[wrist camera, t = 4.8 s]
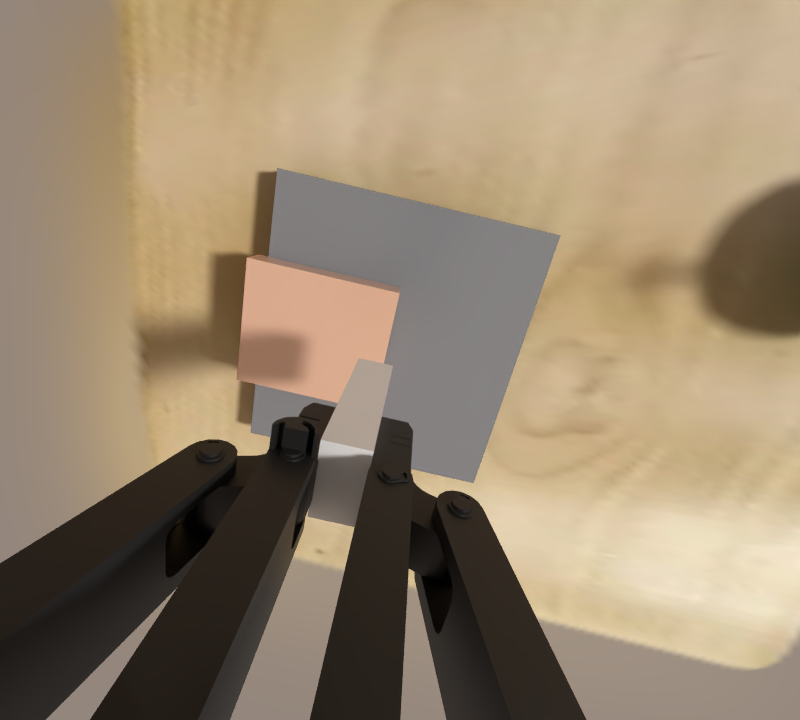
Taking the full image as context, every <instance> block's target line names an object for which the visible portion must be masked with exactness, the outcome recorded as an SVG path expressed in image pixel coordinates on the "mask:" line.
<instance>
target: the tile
mask: <svg viewBox="0 0 800 720" xmlns="http://www.w3.org/2000/svg"><path fill="white" fill-rule="evenodd" d="M400 291H401V288H400V287H396V286H392V285H387V284H383V283H379V282H375V281H370V280H366V279H362V278H358V277H353V276H349V275H345V274H340V273H336V272H332V271H328V270H323V269H319V268H315V267H311V266H306V265H302V264H298V263H294V262H289V261H285V260H281V259H277V258H272V257H268V256H264V255H255V256H251V257H247V262H246V274H245V286H244V299H243V311H242V323H241V335H240V347H239V359H238V372H237V380H239V381H244V382H248V383H253V384H257V385H261V386H266V387H270V388H274V389H279V390H283V391H288V392H292V393H296V394H301V395H305V396H309V397H314V398H318V399H323V400H327V401H331V402H336V403H338V402H339V400H340V397H341V395H342V393H343V391H344V389H345V387H346V385H347V382H348V380H349V378H350V376H351V374H352V372H353V370H354V367H355V365H356V363H357V361H358V359H359V358H361V359H365V360H370V361H374V362H379V363H383V364H384V363H385V358H386V354H387V349H388V345H389V340H390V336H391V331H392V327H393V322H394V318H395V314H396V309H397V305H398V300H399V296H400Z"/></svg>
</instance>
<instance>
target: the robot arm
mask: <svg viewBox="0 0 800 720" xmlns="http://www.w3.org/2000/svg"><path fill="white" fill-rule="evenodd" d="M392 368H393V366H392V365H387V364H383V363H379V362H374V361H370V360H365V359H361V358H359V359H358V361H357V363H356V365H355V367H354V370H353V372H352V374H351V376H350V378H349V380H348V382H347V385H346V387H345V389H344V391H343V393H342V395H341V397H340V400H339V402H338V404H337V406H336V407H332V406H328V405H323V404H319V403H314V402H313V403H311V404H309V405H308V406H306V407H304V408H303V410H302V411H301V413H300V414H299V417H284V418H281V419H278V420H276V421H275V422H274V423H273V424H272V430H271V438H270V447H269V450H268V452H267V453H266V454H263V455H258V456H237V449H236V448H235V446H234V445H232V444H230V443H229V442H226V441H222V440H204V441H199V442H196V443H194V444H192V445H190V446H188V447H187V448H185V449H183V450H182V451H180V452H179V453H177V454H175V455H174V456H172V457H170V458H169V459H167V460H166V461H164V462H162V463H161V464H159V465H158V466H156V467H154V468H153V469H151V470H150V471H148V472H146V473H145V474H143V475H142V476H140V477H138V478H137V479H135V480H133V481H132V482H130V483H129V484H127V485H125V486H124V487H122V488H121V489H119V490H117V491H116V492H114V493H113V494H111V495H109V496H108V497H106V498H105V499H103V500H102V501H100V502H98V503H97V504H95V505H94V506H92V507H90V508H88V509H87V510H85V511H84V512H82V513H81V514H79V515H77V516H76V517H74V518H72V519H71V520H69V521H68V522H66V523H65V524H63V525H61V526H60V527H58V528H56V529H55V530H53V531H51V532H50V533H48V534H47V535H45V536H43V537H42V538H40V539H39V540H37V541H35V542H34V543H32V544H31V545H29V546H28V547H26V548H24V549H23V550H21V551H19V552H18V553H16V554H14V555H13V556H11V557H10V558H8V559H7V560H5V561H3V562H2V563H0V720H46V719H47V718H48V717H49V716H50V715H51V714H52V713H53V712H54V711H55V710H56V709H57V708H58V707H59V706H60V705H61V703H63V702H64V700H66V699H67V698H68V697H69V696H70V695H71V694H72V692H74V691H75V689H77V688H78V687H79V685H80V684H82V682H83V681H85V679H86V678H87V677H88V676H89V675H90V674H91V673H92V672H93V671H94V670H95V669H96V668H97V667H98V666H99V665H100V664H101V663H102V662H103V661H104V660H105V659H106V658H107V657H108V656H109V655H110V654H111V653H112V652H113V651H114V650H115V649H116V648H117V647H118V646H119V645H120V644H121V643H122V642H123V641H124V640H125V639H126V638H127V637H128V636H129V635H130V634H131V633H132V632H133V631H134V630H135V629H136V628H137V627H138V626H139V625H140V624H141V623H142V622H143V621H144V620H145V619H146V618H147V617H148V616H149V615H150V614H151V613H152V612H153V611H154V610H155V609H156V608H157V607H158V606H159V605H160V604H161V603H162V602H163V601H164V600H165V599H166V598H167V597H168V596H169V595H170V594H171V593H172V592H173V591H174V590H175V589H176V588H177V587H178V588H177V589H176V591H175V592H174V594H173V595H172V597H171V598H170V600H169V601H168V603H167V604H166V606H165V607H164V609H163V610H162V612H161V613H160V615H159V616H158V618H157V619H156V621H155V622H154V624H153V625H152V627H151V628H150V630H149V631H148V633H147V634H146V636H145V637H144V639H143V640H142V642H141V643H140V645H139V646H138V648H137V649H136V651H135V652H134V654H133V656H132V657H131V659H130V660H129V662H128V663H127V665H126V666H125V668H124V669H123V671H122V672H121V674H120V675H119V677H118V678H117V680H116V682H115V683H114V684H113V686H112V687H111V689H110V690H109V692H108V694H107V695H106V696H105V698H104V700H103V701H102V703H101V704H100V705H99V707H98V708H97V710H96V712H95V713H94V714H93V716H92V718H91V719H90V720H230V718H231V716H232V713H233V710H234V708H235V705H236V702H237V700H238V697H239V695H240V692H241V689H242V687H243V684H244V682H245V679H246V676H247V674H248V671H249V669H250V666H251V664H252V661H253V659H254V656H255V653H256V651H257V648H258V646H259V643H260V640H261V638H262V635H263V633H264V630H265V627H266V625H267V622H268V620H269V617H270V615H271V612H272V609H273V607H274V604H275V602H276V599H277V596H278V593H279V591H280V589H281V586H282V583H283V581H284V578H285V576H286V573H287V570H288V568H289V565H290V563H291V560H292V558H293V555H294V552H295V550H296V547H297V545H298V542H299V539H300V537H301V534H302V532H303V528H304V522H305V516H306V514H307V511H308V509H309V512H308V517H312V518H317V519H321V520H326V521H330V522H335V523H339V524H344V525H348V526H353V527H355V528H354V533H353V537H352V541H351V546H350V550H349V554H348V558H347V563H346V567H345V571H344V576H343V580H342V585H341V589H340V593H339V597H338V601H337V606H336V610H335V614H334V619H333V623H332V627H331V632H330V635H329V640H328V644H327V648H326V653H325V657H324V661H323V666H322V670H321V674H320V679H319V683H318V687H317V691H316V695H315V700H314V704H313V708H312V713H311V717H310V720H400V714H401V695H402V677H403V659H404V642H405V640H404V639H405V624H406V623H405V622H406V605H407V587H408V569H411V570H413V571H415V582H416V587H417V591H418V596H419V600H420V604H421V608H422V613H423V618H424V622H425V626H426V631H427V635H428V640H429V644H430V648H431V653H432V657H433V662H434V666H435V670H436V675H437V679H438V684H439V688H440V693H441V697H442V701H443V706H444V710H445V714H446V719H447V720H586V718H585V716H584V714H583V712H582V710H581V708H580V706H579V704H578V702H577V700H576V698H575V696H574V693H573V691H572V689H571V688H570V685H569V683H568V681H567V679H566V677H565V675H564V673H563V671H562V669H561V667H560V665H559V663H558V661H557V659H556V657H555V655H554V653H553V651H552V649H551V647H550V645H549V642H548V640H547V638H546V637H545V635H544V632H543V630H542V628H541V626H540V624H539V622H538V620H537V618H536V616H535V614H534V612H533V610H532V608H531V606H530V604H529V602H528V600H527V598H526V596H525V594H524V591H523V589H522V587H521V585H520V583H519V581H518V579H517V577H516V575H515V573H514V571H513V569H512V567H511V565H510V563H509V561H508V559H507V557H506V555H505V553H504V551H503V549H502V547H501V545H500V543H499V540H498V538H497V536H496V534H495V532H494V530H493V528H492V526H491V524H490V522H489V520H488V518H487V516H486V514H485V512H484V510H483V508H482V507H481V505H480V504H479V503H478V502H477V501H476V500H475V499H474V498H472V497H471V496H469V495H467V494H465V493H462V492H458V491H445V492H443V493H441V494H439V496H438V498H436V497H434V496H432V495H430V494H428V493H426V492H424V491H422V490H421V489H420V488H419V487H418V486H417V485H416V484H415V483H414V482H413V477H412V474H411V460H412V444H413V430H412V428H411V426H410V425H409V423H408V422H404V421H399V420H395V419H390V418H386V417H382V413H383V409H384V404H385V400H386V395H387V391H388V386H389V382H390V377H391V373H392Z"/></svg>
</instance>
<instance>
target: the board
mask: <svg viewBox="0 0 800 720" xmlns="http://www.w3.org/2000/svg"><path fill="white" fill-rule="evenodd" d="M559 238H560V235H556V234H551V233H547V232H543V231H539V230H535V229H530V228H526V227H522V226H518V225H514V224H510V223H505V222H501V221H497V220H493V219H489V218H484V217H480V216H476V215H472V214H468V213H463V212H459V211H455V210H451V209H447V208H442V207H438V206H434V205H430V204H426V203H422V202H417V201H413V200H409V199H405V198H401V197H396V196H392V195H388V194H384V193H380V192H375V191H371V190H367V189H363V188H359V187H354V186H350V185H346V184H342V183H338V182H333V181H329V180H325V179H321V178H317V177H313V176H308V175H304V174H300V173H296V172H292V171H287V170H283V169H279V168H277V176H276V186H275V196H274V206H273V216H272V226H271V236H270V246H269V256H268V257H272V258H277V259H281V260H285V261H289V262H294V263H298V264H302V265H306V266H311V267H315V268H319V269H323V270H328V271H332V272H336V273H340V274H345V275H349V276H353V277H358V278H362V279H366V280H370V281H375V282H379V283H383V284H387V285H392V286H396V287H400V288H401V291H400V296H399V300H398V305H397V309H396V314H395V318H394V322H393V327H392V331H391V336H390V340H389V345H388V349H387V354H386V358H385V363H384V364H387V365H392V366H393V368H392V373H391V377H390V382H389V386H388V391H387V395H386V400H385V404H384V409H383V413H382V417H386V418H390V419H395V420H399V421H404V422H408V423H409V425H410V426H411V428H412V430H413V444H412V460H411V469H414V470H418V471H423V472H427V473H432V474H436V475H440V476H445V477H449V478H454V479H458V480H463V481H467V482H471V483H474V480H475V477H476V475H477V472H478V469H479V466H480V463H481V460H482V457H483V455H484V452H485V449H486V446H487V443H488V440H489V437H490V435H491V432H492V429H493V426H494V423H495V420H496V418H497V415H498V412H499V409H500V406H501V403H502V400H503V398H504V395H505V392H506V389H507V386H508V383H509V380H510V378H511V375H512V372H513V369H514V366H515V363H516V361H517V358H518V355H519V352H520V349H521V346H522V343H523V341H524V338H525V335H526V332H527V329H528V326H529V323H530V321H531V318H532V315H533V312H534V309H535V306H536V304H537V301H538V298H539V295H540V292H541V289H542V286H543V284H544V281H545V278H546V275H547V272H548V269H549V267H550V264H551V261H552V258H553V255H554V252H555V249H556V247H557V244H558V241H559ZM313 402H314V403H319V404H323V405H328V406H332V407H336V406H337V404H338V403H336V402H331V401H327V400H323V399H318V398H314V397H309V396H305V395H301V394H296V393H292V392H288V391H283V390H279V389H274V388H270V387H266V386H261V385H257V384H255V394H254V404H253V414H252V424H251V433H255V434H260V435H264V436H268V437H271V430H272V424H273V423H274V422H275V421H276V420H278V419H281V418H284V417H299V414H300V413H301V411H302V410H303V408H304V407H306V406H308V405H309V404H311V403H313Z"/></svg>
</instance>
